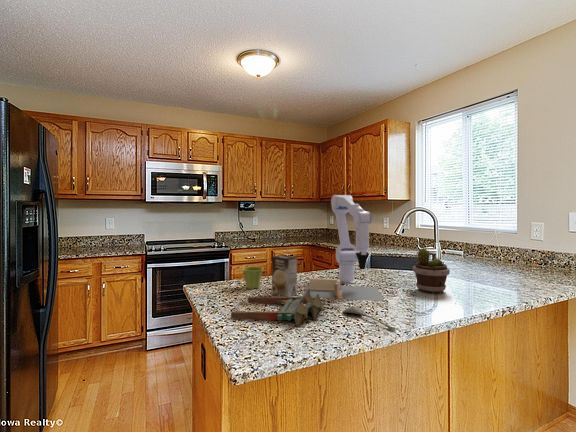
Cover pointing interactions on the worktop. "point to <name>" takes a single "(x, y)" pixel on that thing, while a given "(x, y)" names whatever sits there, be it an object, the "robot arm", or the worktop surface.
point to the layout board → (341, 290)
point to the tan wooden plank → (337, 288)
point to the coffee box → (284, 275)
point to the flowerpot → (430, 273)
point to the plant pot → (252, 277)
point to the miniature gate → (285, 308)
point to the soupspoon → (360, 311)
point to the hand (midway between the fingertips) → (362, 268)
